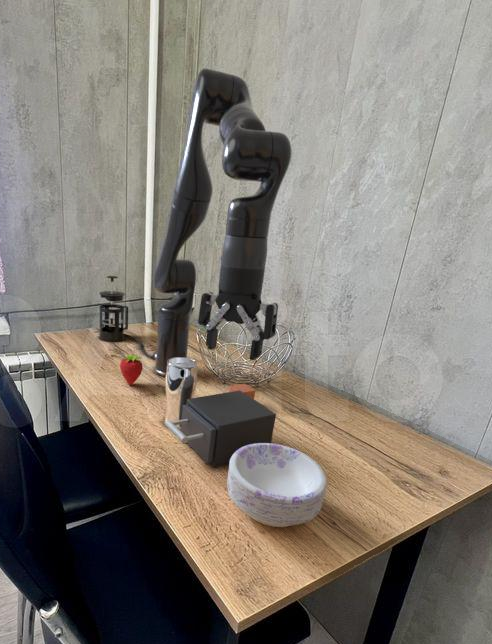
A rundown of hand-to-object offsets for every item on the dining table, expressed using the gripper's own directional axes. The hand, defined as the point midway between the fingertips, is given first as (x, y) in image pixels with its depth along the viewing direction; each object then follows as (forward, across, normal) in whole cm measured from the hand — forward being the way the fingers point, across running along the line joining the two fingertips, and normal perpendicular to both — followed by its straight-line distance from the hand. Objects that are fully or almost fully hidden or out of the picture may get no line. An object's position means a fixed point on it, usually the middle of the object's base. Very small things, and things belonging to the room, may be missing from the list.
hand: (232, 353), depth 74 cm
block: (+21, +6, -23) cm, 32 cm away
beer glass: (+21, +13, -4) cm, 26 cm away
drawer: (+20, +2, +1) cm, 20 cm away
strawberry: (+21, +35, -14) cm, 44 cm away
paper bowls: (+22, -14, +10) cm, 28 cm away
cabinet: (+21, 0, -3) cm, 21 cm away
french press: (+21, +68, -44) cm, 84 cm away
